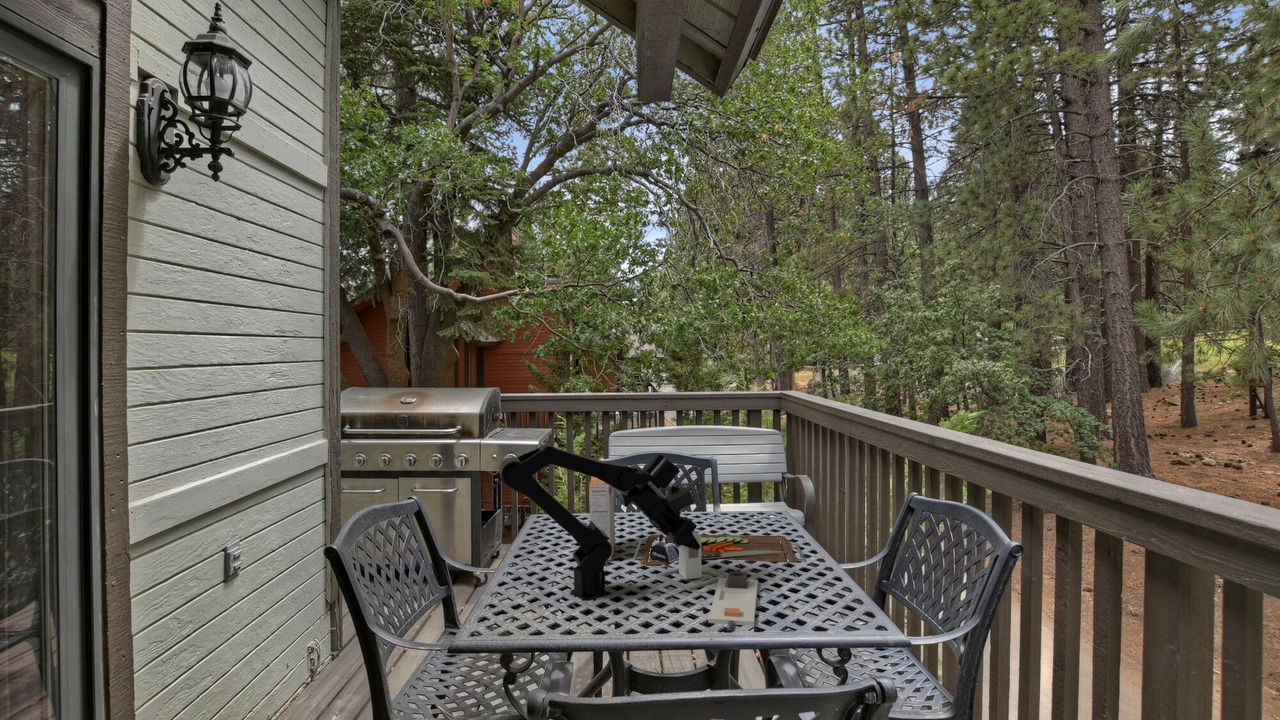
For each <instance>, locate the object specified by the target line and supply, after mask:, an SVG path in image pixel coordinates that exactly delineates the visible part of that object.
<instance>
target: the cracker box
mask: <svg viewBox="0 0 1280 720" xmlns="http://www.w3.org/2000/svg"><path fill="white" fill-rule="evenodd" d="M591 477H592V476H591ZM614 489H615V488H614V487H612V486H611V485H609V484H607V483H605V482H603V481H602V480H600V479H598V478H596V477H592V478H591V480H590V481H589V483H588V490H589V491H588V492H589V493H588V496H589V497H588V498H589V523H590V522H591V521H592V522H593V523H594V524H595V525H596V526H597V527H598V529H600V530H603V531H604V533H605V534H606V535H607V536H608V537H609V538H610V539H609V540H608V541H609V543H610V544H611V546H612V553H611V556H610V557H609V559H608V560H607V561H606V562H611V561H613V557H614V553H615V547H616V530H615V528H616V527H615V526H616V525H615V522H616V521H615V496H614V495H615V494H614V493H615V492H614Z"/></svg>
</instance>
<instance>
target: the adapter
mask: <svg viewBox="0 0 1280 720" xmlns="http://www.w3.org/2000/svg"><path fill="white" fill-rule="evenodd" d="M692 534H693V535H694V537H695V539H696V540H697V542H698V543H699V545H700V548H699V550H695V549H692V548H689V547H686V546H683V545H681V546H679V561H678V567H679V572H678V574H679V575H680V576H682V577H683V578H684V580H690V579H700V578H702V573H703V572H702V568H703V567H702V560H701V535H702V534H699V533H698V532H697V531H695V530H694V531H693V532H692Z"/></svg>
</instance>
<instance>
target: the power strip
mask: <svg viewBox="0 0 1280 720" xmlns="http://www.w3.org/2000/svg"><path fill="white" fill-rule="evenodd" d="M758 584H759V581H758V579H748V578H747V588H746V589H742V588H728V577H726V578H719V580H718V581H717V584H716V589H715V591H714V596H713V599H712V603H711V608H710V611H709V616H708V624H721V625H727V627H726V631H729V632H730V631H731V632H733V631H734V627H735V626H749V627H750V626H751V627H754V626H755V620H756V618H755V617H756V607H757V597H758V596H757V594H758Z"/></svg>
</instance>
